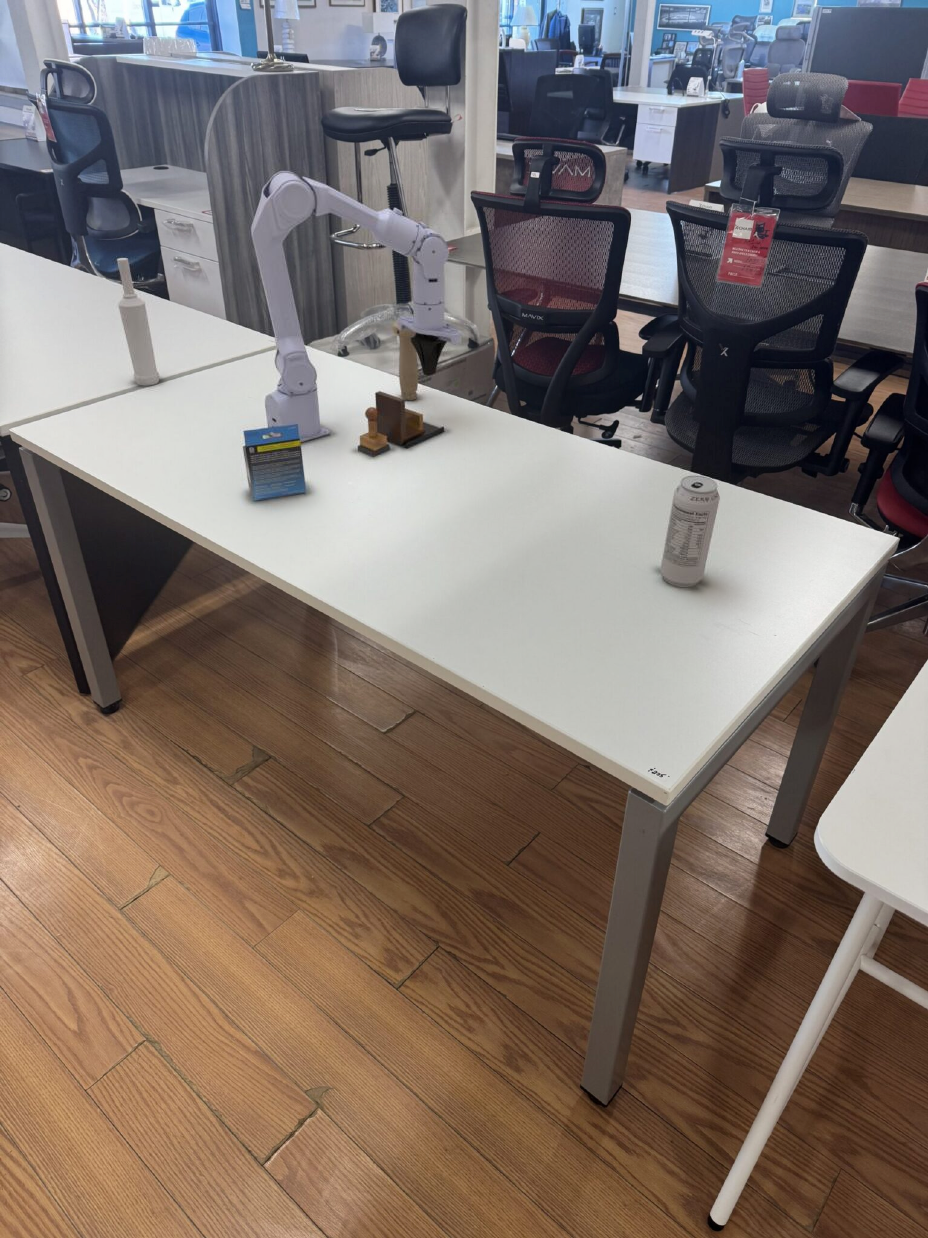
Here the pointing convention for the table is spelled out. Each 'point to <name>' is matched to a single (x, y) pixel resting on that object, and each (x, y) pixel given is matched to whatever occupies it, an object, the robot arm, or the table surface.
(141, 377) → the bottle
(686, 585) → the energy drink can
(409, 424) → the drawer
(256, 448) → the blue product box
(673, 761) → the table surface
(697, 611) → the table surface
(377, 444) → the stamp
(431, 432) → the track
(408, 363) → the handle
